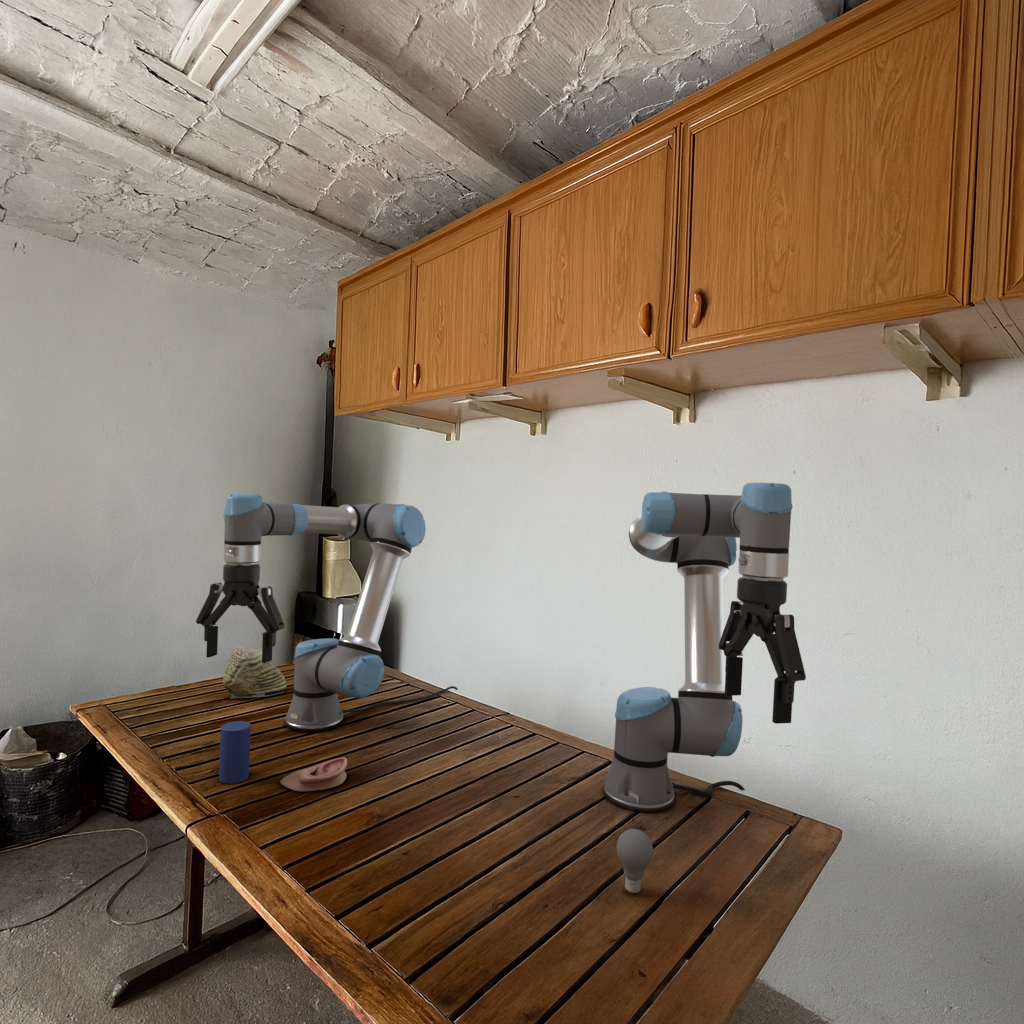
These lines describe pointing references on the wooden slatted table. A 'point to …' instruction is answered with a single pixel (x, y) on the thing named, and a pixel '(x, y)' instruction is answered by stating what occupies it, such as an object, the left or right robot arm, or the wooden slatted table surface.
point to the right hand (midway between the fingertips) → (755, 708)
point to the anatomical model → (317, 776)
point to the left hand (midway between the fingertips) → (239, 658)
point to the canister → (234, 752)
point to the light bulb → (634, 857)
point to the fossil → (252, 675)
